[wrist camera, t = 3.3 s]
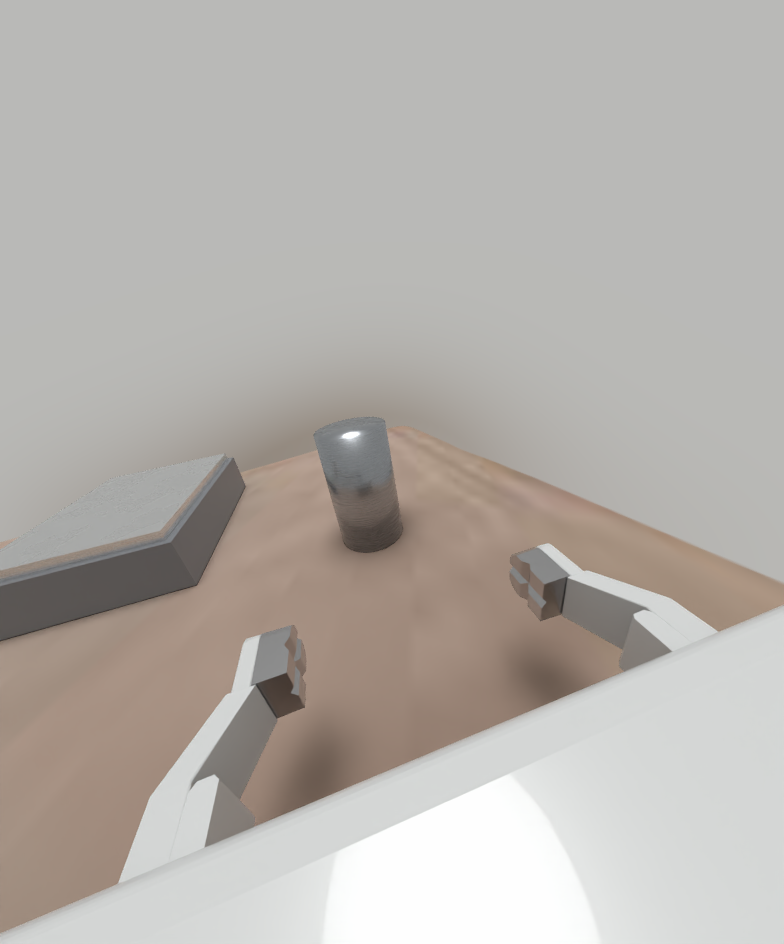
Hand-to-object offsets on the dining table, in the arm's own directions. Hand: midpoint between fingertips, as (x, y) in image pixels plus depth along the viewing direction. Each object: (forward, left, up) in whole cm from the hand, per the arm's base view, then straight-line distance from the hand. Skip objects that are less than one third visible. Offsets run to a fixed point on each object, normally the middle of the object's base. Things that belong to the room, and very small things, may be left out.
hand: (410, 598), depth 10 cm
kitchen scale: (-20, +20, -6) cm, 29 cm away
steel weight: (0, +12, -6) cm, 14 cm away
